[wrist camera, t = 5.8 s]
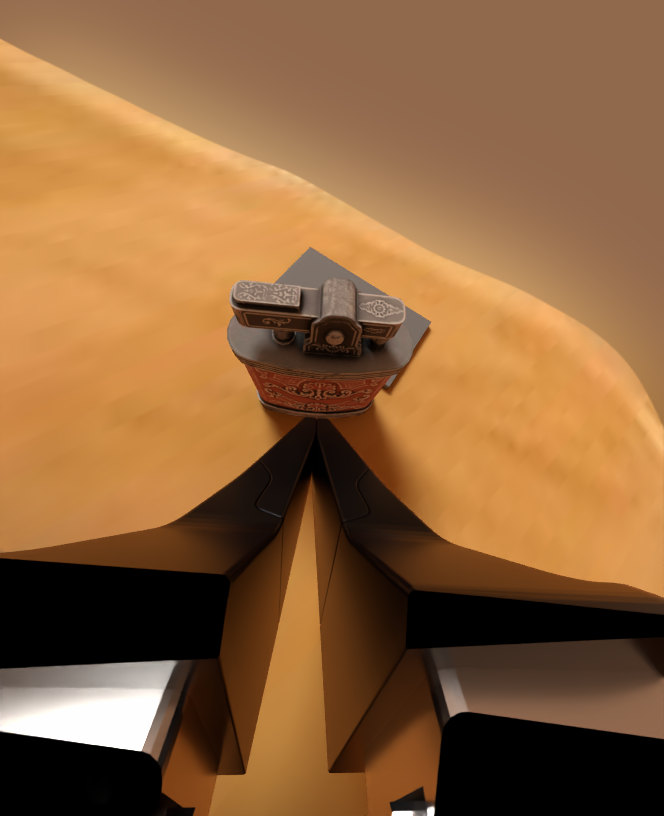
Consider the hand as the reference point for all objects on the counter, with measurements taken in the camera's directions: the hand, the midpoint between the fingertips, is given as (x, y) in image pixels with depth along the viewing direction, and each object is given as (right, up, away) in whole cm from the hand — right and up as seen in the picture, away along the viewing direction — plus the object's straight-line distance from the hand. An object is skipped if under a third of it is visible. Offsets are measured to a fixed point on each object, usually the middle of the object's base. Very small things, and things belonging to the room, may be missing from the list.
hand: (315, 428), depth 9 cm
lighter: (-1, +2, +9) cm, 9 cm away
